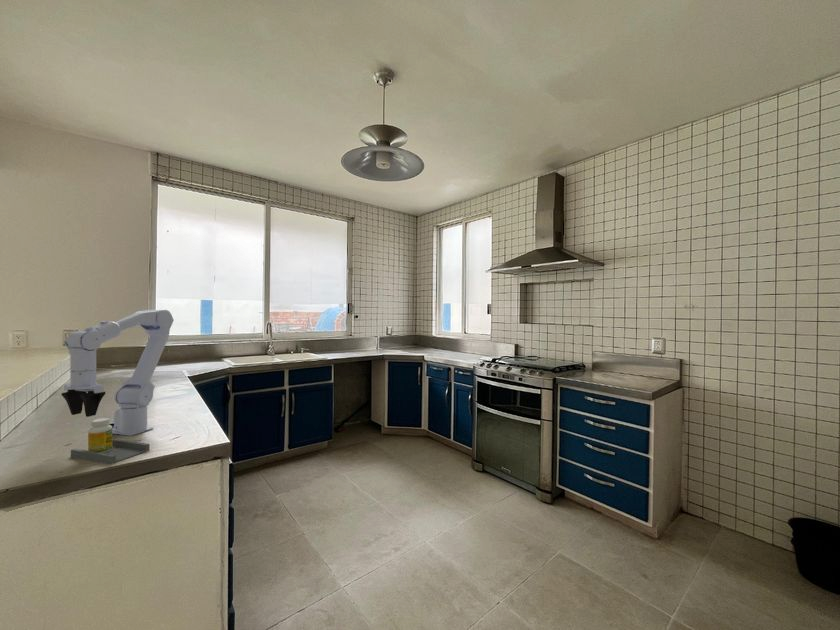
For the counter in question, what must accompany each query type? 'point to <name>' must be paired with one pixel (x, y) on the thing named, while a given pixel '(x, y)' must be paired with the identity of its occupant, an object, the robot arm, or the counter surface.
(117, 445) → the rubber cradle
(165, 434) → the counter surface
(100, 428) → the supplement bottle
